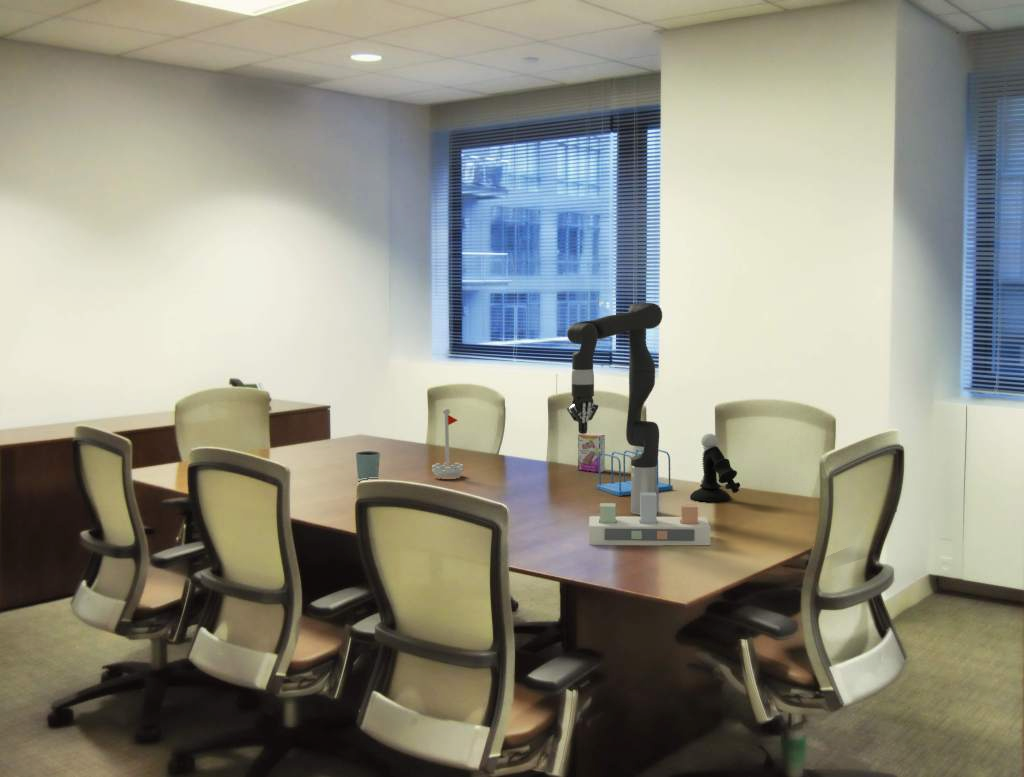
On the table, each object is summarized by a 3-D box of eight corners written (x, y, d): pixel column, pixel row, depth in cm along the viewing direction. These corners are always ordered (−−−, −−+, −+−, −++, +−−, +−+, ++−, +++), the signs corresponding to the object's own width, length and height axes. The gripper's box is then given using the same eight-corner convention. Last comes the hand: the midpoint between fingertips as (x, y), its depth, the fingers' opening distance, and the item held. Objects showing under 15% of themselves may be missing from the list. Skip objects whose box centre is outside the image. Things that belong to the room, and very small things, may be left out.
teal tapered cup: (353, 479, 443) (352, 452, 441) (376, 477, 447) (375, 450, 446) (360, 483, 434) (359, 455, 432) (383, 481, 438) (383, 453, 437)
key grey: (640, 526, 332) (640, 495, 331) (640, 522, 337) (640, 492, 336) (656, 526, 331) (656, 495, 330) (655, 522, 336) (655, 492, 335)
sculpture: (714, 493, 406) (714, 430, 403) (753, 504, 385) (754, 437, 382) (682, 497, 399) (682, 433, 396) (720, 509, 378) (721, 441, 375)
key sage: (600, 537, 333) (599, 506, 332) (600, 533, 338) (600, 503, 337) (615, 537, 333) (615, 506, 332) (615, 533, 338) (615, 503, 337)
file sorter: (649, 483, 428) (649, 446, 427) (673, 490, 413) (673, 452, 411) (596, 489, 418) (596, 451, 416) (619, 496, 402) (619, 457, 400)
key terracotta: (681, 537, 331) (681, 507, 330) (680, 534, 336) (680, 503, 335) (697, 538, 331) (697, 507, 330) (696, 534, 336) (696, 503, 334)
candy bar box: (577, 470, 457) (577, 433, 455) (582, 469, 461) (582, 432, 460) (600, 473, 451) (600, 435, 449) (605, 471, 455) (605, 434, 454)
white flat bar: (588, 545, 329) (588, 526, 328) (589, 534, 343) (589, 516, 343) (710, 546, 325) (710, 527, 325) (705, 535, 340) (706, 517, 339)
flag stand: (427, 479, 441) (426, 409, 438) (438, 474, 454) (437, 405, 451) (456, 480, 438) (455, 410, 435) (467, 475, 450) (465, 406, 447)
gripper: (576, 384, 342) (576, 436, 344) (604, 381, 350) (604, 432, 352) (560, 383, 348) (561, 434, 349) (589, 380, 356) (589, 430, 358)
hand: (583, 433), depth 351 cm, fingers closed
